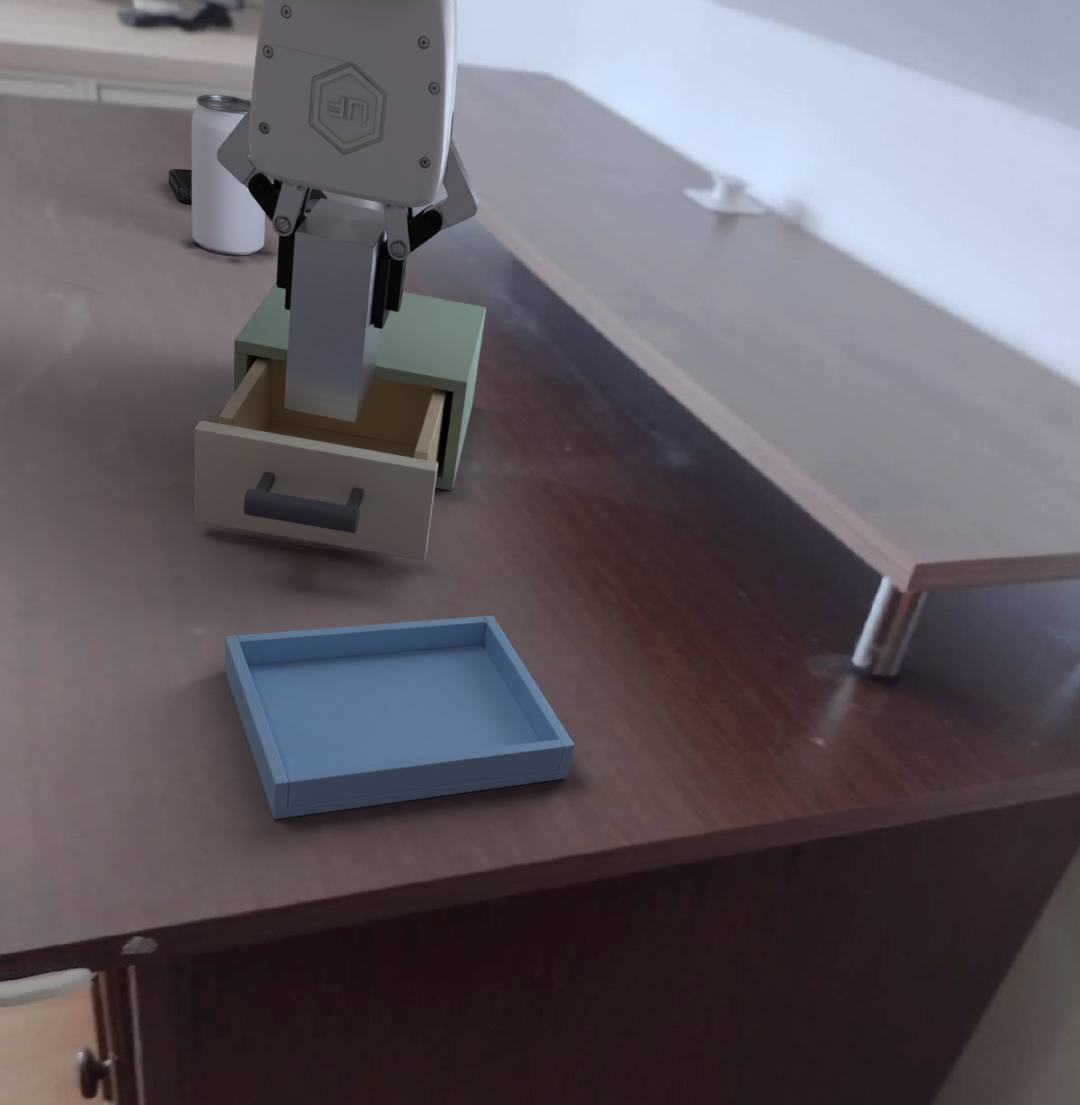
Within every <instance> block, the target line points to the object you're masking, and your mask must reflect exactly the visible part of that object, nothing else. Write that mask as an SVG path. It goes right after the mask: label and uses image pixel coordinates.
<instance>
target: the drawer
mask: <svg viewBox="0 0 1080 1105" xmlns="http://www.w3.org/2000/svg"><path fill="white" fill-rule="evenodd" d="M286 368H287V361H281V360H276V359H270V358H265V357H259V356H258V358H257V359H256V361H255V362H254V364H253V365H252V367H251V368H250V370H249V371H248V373H247V374H246V376H245V377H244V379H243V380H242V382H241V384H240V385H239V387H238V388H237V390H236V391H235V393H234V392H233V394H232V396H231V397H230V399H229V400H228V402H227V403H226V405H225V406H224V408H223V410H222V411H221V413H220V414H219V415H218V422H213V421H208V420H207V421H206V420H199V421H198V423H197V424H196V426H195V427H194V432H193V433H194V435H193V436H194V442H193V443H194V522H195V523H196V522H197V523H202V524H209V525H213V526H218V527H219V526H220V527H225V528H230V529H231V528H232V529H236V530H237V529H238V530H241V531H249V532H255V533H260V534H265V535H272V536H279V537H284V538H290V539H296V540H300V541H301V540H302V541H307V542H312V543H318V544H323V545H331V546H336V547H341V548H342V547H343V548H348V549H353V550H359V551H365V552H371V553H377V554H383V555H388V556H389V555H390V556H395V557H401V558H406V559H412V560H417V561H423V562H424V561H425V560H426V557H427V553H428V546H429V538H430V531H431V523H432V522H431V521H432V514H433V507H434V499H435V490H436V488H435V485H436V477H437V469H438V458H439V453H440V445H441V438H442V430H443V422H444V414H445V407H446V399H447V391H446V390H441V389H435V388H430V387H424V386H419V385H413V384H408V383H402V382H397V381H391V380H386V379H380V378H374V380H373V383H372V385H371V388H370V390H369V392H368V395H367V397H366V400H365V402H364V404H363V407H362V409H361V412H360V414H359V416H358V419H357V421H356V423H354V422H349V421H344V420H339V419H334V418H329V417H324V416H319V415H314V414H309V413H304V412H299V411H294V410H289V409H285V408H284V399H285V384H286Z"/></svg>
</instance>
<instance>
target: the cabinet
mask: <svg viewBox="0 0 1080 1105" xmlns="http://www.w3.org/2000/svg"><path fill="white" fill-rule="evenodd" d="M285 293H286V289H283V288H278V287H277V284H276V282H275V283H274V284H273V286H272V288H271V289H270V290H269V292H268V293H267V295H265V297H264V298H263V300H262V301H261V303H260V304H259V305H258V307H257V309H255V311H254V312H253V314H252V315H251V316H250V318H249V320H248V321H247V322H246V323H245V325H244V326H243V328H242V329H241V331H240V332H239V333H238V335H237V336H236V337H235V339H234V341H233V342H234V346H233V347H234V348H233V350H234V353H233V354H234V355H233V356H234V357H233V394H234V393H235V391H236V390H237V388H238V387H239V385H240V384H241V382H242V380H243V379H244V377H245V376H246V374H247V373H248V371H249V370H250V368H251V367H252V365H253V364H254V362H255V361H256V359H257V358H258V356H259V357H265V358H270V359H276V360H281V361H287V353H288V337H289V322H290V310H286V309H285ZM486 312H487V307H486V306H482V305H476V304H471V303H465V302H460V301H454V300H449V299H445V298H439V297H433V296H429V295H422V294H417V293H412V292H407V291H403V296H402V303H401V307H400V310H399V312H395V311H390V313H389V316H388V318H387V320H386V322H385V325H384V327H383V329H380V334H379V343H378V352H377V361H376V370H375V378H380V379H386V380H391V381H397V382H402V383H408V384H413V385H419V386H424V387H430V388H435V389H441V390H446V391H447V399H446V407H445V414H444V422H443V430H442V438H441V445H440V453H439V458H438V469H437V477H436V485H435V489H440V490H445V491H450V492H451V491H454V486H455V481H456V478H457V473H458V469H459V464H460V460H461V455H462V452H463V447H464V444H465V443H464V442H465V439H466V434H467V431H468V426H469V421H470V417H471V412H472V408H473V403H474V395H475V388H476V381H477V376H478V375H477V374H478V367H479V361H480V355H481V354H480V353H481V348H482V347H481V346H482V339H483V332H484V326H485V318H486Z"/></svg>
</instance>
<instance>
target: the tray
mask: <svg viewBox="0 0 1080 1105" xmlns="http://www.w3.org/2000/svg"><path fill="white" fill-rule="evenodd" d="M224 673H225V675H226V678H227V681H228V684H229V688H230V690H231V691H230V692H231V694H232V697H233V700H234V703H235V706H236V709H237V712H238V715H239V718H240V721H241V724H242V727H243V730H244V733H245V736H246V739H247V743H248V746H249V749H250V752H251V755H252V757H253V761H254V764H255V766H256V770H257V774H258V776H259V779H260V782H261V785H262V788H263V791H264V794H265V797H266V801H267V803H268V806H269V810H270V813H271V815H272V818H273V820H279V819H286V818H293V817H294V818H295V817H300V816H301V817H302V816H308V815H315V814H323V813H331V812H337V811H344V810H351V809H358V808H364V807H365V808H367V807H371V806H380V805H386V804H393V803H401V802H408V801H415V800H422V799H429V798H437V797H442V796H450V795H456V794H464V793H471V792H472V793H473V792H479V791H484V790H485V791H486V790H487V791H488V790H493V789H500V788H508V787H515V786H522V785H528V784H534V783H542V782H549V781H555V780H556V781H557V780H565V779H568V776H569V775H568V774H569V772H570V771H569V770H570V767H571V763H572V758H573V754H574V749H575V743H574V742H573V740H572V738H571V737H570V735H569V734H568V732H567V731H566V729H565V728H564V726H563V724H562V723H561V721H560V720H559V718H558V717H557V715H556V714H555V712H554V711H553V709H552V707H551V705H550V704H549V702H548V701H547V699H546V698H545V696H544V694H543V693H542V691H541V689H540V688H539V686H538V685H537V683H536V682H535V680H534V678H533V677H532V675H531V674H530V672H529V671H528V669H527V667H526V666H525V664H524V662H523V661H522V660H521V658H520V657H519V655H518V653H517V652H516V650H515V648H514V647H513V645H512V643H511V642H510V641H509V639H508V637H507V636H506V634H505V632H504V631H503V630H502V627H501V626H500V625H499V623H498V622H497V620H496V618H495V617H494V616H493V615H478V616H477V615H476V616H466V617H464V616H463V617H454V618H440V619H428V620H427V619H425V620H415V621H413V620H412V621H401V622H389V623H387V622H386V623H376V624H363V625H351V626H338V627H325V628H312V629H301V630H300V629H299V630H287V631H275V632H273V631H272V632H260V633H250V634H249V633H247V634H238V635H226V636H225V637H224Z"/></svg>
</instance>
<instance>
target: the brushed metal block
mask: <svg viewBox="0 0 1080 1105" xmlns="http://www.w3.org/2000/svg"><path fill="white" fill-rule="evenodd" d="M386 239H387V236H386V226H385V216H384V210H378V209H373V208H369V207H363V206H360V205H354V204H350V203H345V202H340V201H335V200H332V199H328V198H327V199H322V198H321V199H320V200H319V201H318V203H317V204H316V205H315V207H314V208H313V209H312V210H310V212H309V213H308V214H307V216H306V219H305V220H304V221H303V223H302V224H301V225H300V226H299V228H298V229H297V230H296V232H295V244H294V259H293V275H292V290H291V306H290V322H289V337H288V353H287V368H286V384H285V399H284V408H285V409H289V410H294V411H299V412H304V413H309V414H314V415H319V416H324V417H329V418H334V419H339V420H344V421H349V422H354V423H356V421H357V419H358V416H359V414H360V412H361V409H362V407H363V404H364V402H365V400H366V397H367V395H368V392H369V390H370V388H371V385H372V383H373V380H374V378H375V370H376V361H377V352H378V343H379V334H380V329H379V328H374V327H373V325H371V317H372V308H373V298H374V289H375V280H376V270H377V262H378V258H379V256H380V254H381V252H382V250H383V246H384V242H385V240H386Z"/></svg>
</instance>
